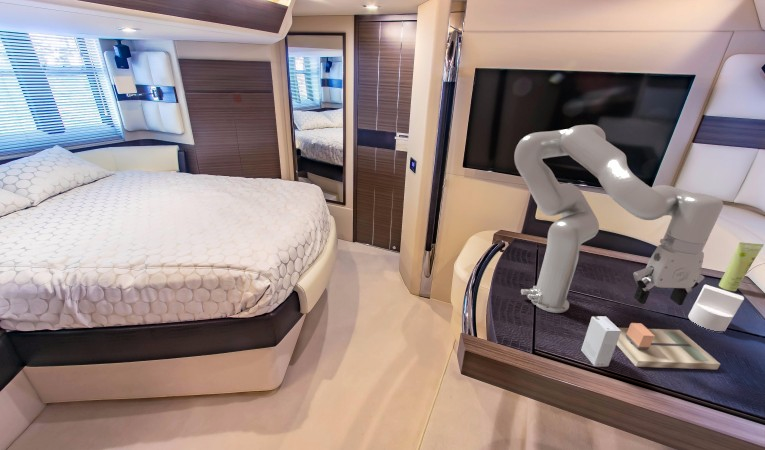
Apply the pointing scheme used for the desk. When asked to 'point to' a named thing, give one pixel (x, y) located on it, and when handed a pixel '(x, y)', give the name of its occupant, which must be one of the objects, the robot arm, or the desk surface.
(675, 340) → the fader board
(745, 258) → the tube
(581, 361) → the desk surface
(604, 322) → the skincare box
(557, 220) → the robot arm
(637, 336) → the fader tab
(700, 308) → the cylinder with rectangular tab
